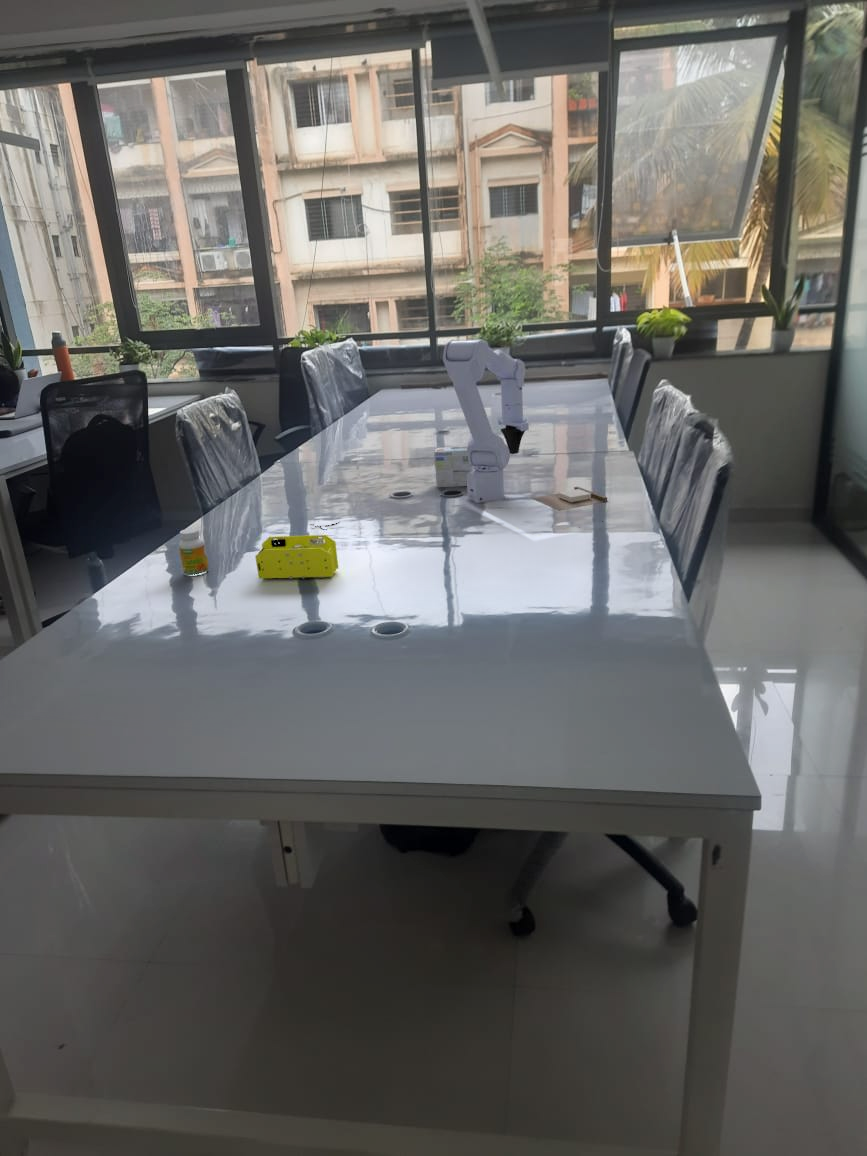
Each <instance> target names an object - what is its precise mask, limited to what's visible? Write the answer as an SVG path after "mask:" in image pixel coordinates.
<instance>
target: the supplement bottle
mask: <svg viewBox="0 0 867 1156" xmlns="http://www.w3.org/2000/svg"><path fill="white" fill-rule="evenodd" d="M179 535H180V536H179V537H180V539H181V541H179V544H178V550H179V553H180V560H181V565H182V569H183V570H182V571H183V574H184V573H185V574H187V575H193V574H194V575H195V574H199V573H202V572H205V571H207V570H208V569H209V570H210V566H209V561H208V556H207V550H206V545H205V540H204V539H203V538H202V537H200V536H201V534H200V530H199V529H198V528H196V527H191V528H185V529H181V530H180V531H179ZM185 574H184V575H185Z"/></svg>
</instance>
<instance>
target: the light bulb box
mask: <svg viewBox="0 0 867 1156" xmlns="http://www.w3.org/2000/svg"><path fill="white" fill-rule="evenodd" d="M433 454H434V466H435V467H434V468H435V480H436V488H452V487H453V488H454V487H455V488H456V487H467V475H468V473H470V472H473V471H474V469H473V466H472V465H471V464H470V462H469V459H468V450H467V445H463V446H448V447H445V446H444V447H436V449H435V450H434V452H433Z"/></svg>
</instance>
